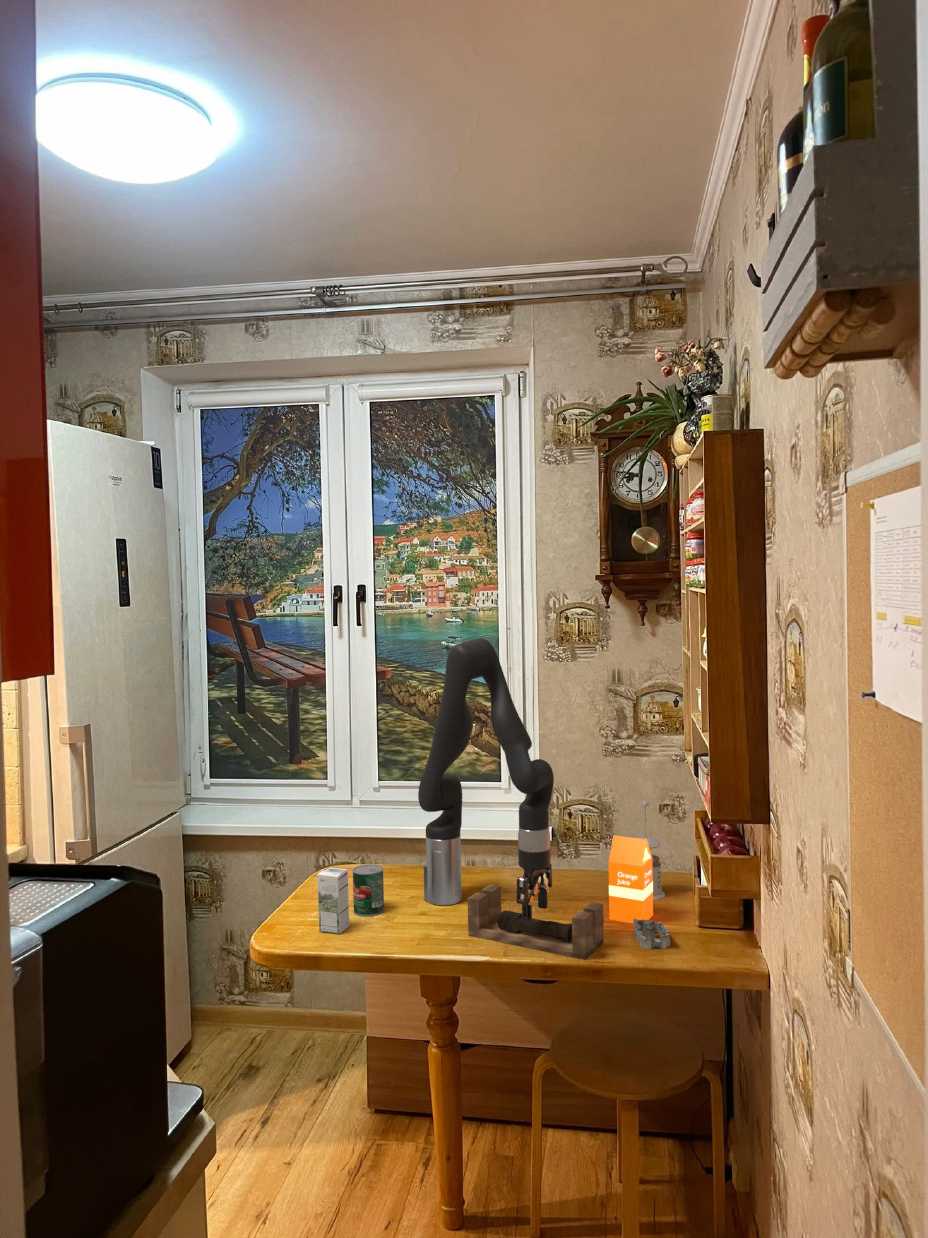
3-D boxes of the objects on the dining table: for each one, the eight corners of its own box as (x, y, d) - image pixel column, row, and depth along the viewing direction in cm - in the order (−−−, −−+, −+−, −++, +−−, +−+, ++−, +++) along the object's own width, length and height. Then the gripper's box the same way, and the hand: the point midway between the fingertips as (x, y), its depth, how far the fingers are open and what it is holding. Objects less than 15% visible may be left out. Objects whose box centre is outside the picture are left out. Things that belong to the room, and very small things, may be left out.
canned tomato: (348, 915, 229) (347, 872, 229) (361, 904, 237) (359, 863, 236) (377, 918, 227) (376, 875, 226) (389, 907, 234) (387, 865, 234)
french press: (663, 888, 244) (661, 796, 244) (668, 903, 233) (666, 807, 232) (626, 887, 245) (625, 796, 245) (629, 902, 234) (628, 807, 233)
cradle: (468, 935, 214) (467, 898, 214) (490, 920, 224) (490, 884, 223) (584, 960, 199) (584, 919, 198) (603, 942, 208) (603, 904, 208)
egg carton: (671, 951, 203) (671, 933, 203) (638, 951, 204) (638, 933, 204) (663, 932, 214) (663, 915, 214) (632, 932, 215) (631, 915, 214)
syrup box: (350, 926, 222) (348, 868, 221) (339, 935, 216) (337, 875, 216) (329, 924, 224) (328, 866, 223) (318, 932, 218) (316, 873, 217)
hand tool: (575, 938, 208) (575, 918, 208) (568, 944, 205) (568, 924, 205) (503, 925, 218) (502, 906, 218) (495, 930, 214) (495, 911, 214)
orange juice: (619, 909, 229) (618, 831, 228) (653, 915, 225) (652, 835, 224) (608, 919, 222) (607, 839, 222) (643, 925, 218) (642, 844, 217)
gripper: (535, 856, 203) (536, 927, 203) (561, 840, 215) (562, 906, 216) (505, 852, 206) (506, 921, 207) (533, 836, 219) (534, 901, 219)
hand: (535, 914), depth 211 cm, fingers open, 8 cm apart
